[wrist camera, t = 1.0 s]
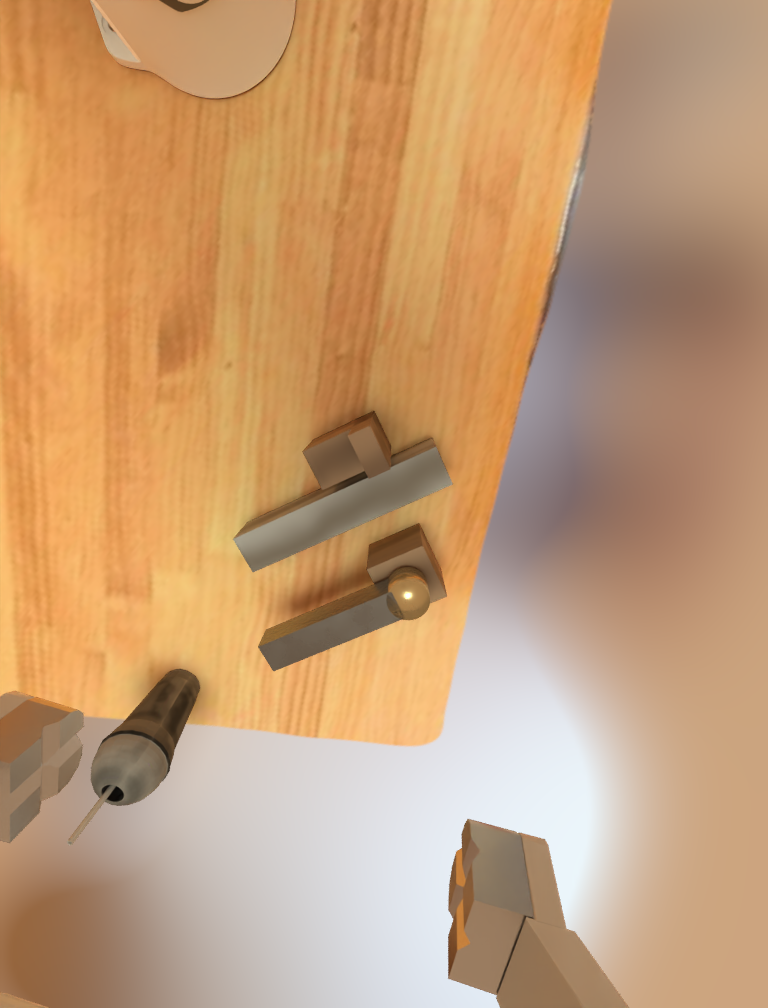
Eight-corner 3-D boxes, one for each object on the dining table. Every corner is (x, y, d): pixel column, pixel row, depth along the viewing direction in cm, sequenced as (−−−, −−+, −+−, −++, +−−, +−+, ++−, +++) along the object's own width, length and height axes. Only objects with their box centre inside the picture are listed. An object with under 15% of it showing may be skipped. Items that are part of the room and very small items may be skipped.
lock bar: (417, 560, 47) (419, 574, 44) (434, 594, 48) (437, 610, 45) (263, 625, 49) (255, 642, 46) (282, 656, 50) (275, 675, 47)
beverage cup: (219, 703, 61) (139, 865, 42) (164, 714, 61) (61, 878, 42) (199, 654, 58) (105, 800, 39) (142, 665, 59) (23, 815, 40)
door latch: (223, 482, 52) (183, 513, 42) (412, 392, 49) (417, 403, 39) (307, 624, 57) (288, 682, 47) (482, 551, 54) (503, 597, 44)
